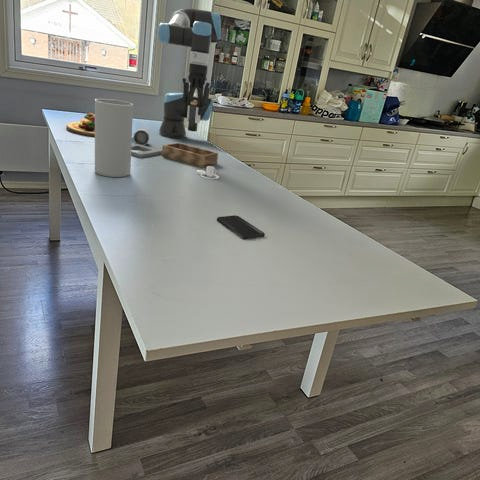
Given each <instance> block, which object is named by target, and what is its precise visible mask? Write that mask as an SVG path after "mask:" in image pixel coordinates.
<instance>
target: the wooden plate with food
mask: <svg viewBox="0 0 480 480" xmlns="http://www.w3.org/2000/svg"><path fill="white" fill-rule="evenodd" d="M66 129H67V131H70V132H71V133H73V134H77V135H82V136H87V137H92V138H93V137H94V138H95V113H93V112H89V113H87V114H85V116H84V117H82V118H81V119H80V121H74V122H73V121H72V122H69V123H67V124H66Z"/></svg>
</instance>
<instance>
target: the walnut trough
mask: <svg viewBox="0 0 480 480" xmlns="http://www.w3.org/2000/svg"><path fill="white" fill-rule="evenodd" d="M161 149H162V150H161V151H162V154H161V157H164V158H167V159H171V160H174V161H178V162H181V163H185V164H189V165H192V166H196V167H200V168H202V167H203V168H207V167H206V166H210V165H211V166H214V164H215V165H217V164H218V158H219V152H215V151H212V150H208V149H205V148H201V147H196V146H194V145H189V144H185V143H182V142H173V143H167V144H163V145H162V147H161Z"/></svg>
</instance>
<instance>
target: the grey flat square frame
mask: <svg viewBox="0 0 480 480" xmlns="http://www.w3.org/2000/svg"><path fill="white" fill-rule="evenodd" d="M138 150H139V151H138ZM140 150H141V151H140ZM159 155H162V150H161V149H158V148H153V147H150V146H146V145H144V146H143V145H140V144H136V143H132V146H131V157H132V156H133V157H135V158H139V159H142V158H143V159H144V158H148V157H154V156H159Z"/></svg>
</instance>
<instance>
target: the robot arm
mask: <svg viewBox="0 0 480 480" xmlns="http://www.w3.org/2000/svg"><path fill="white" fill-rule="evenodd" d="M221 21H222V19H221V14H219V13H218V12H214V11H211V10H202V9H197V8H193V7H192V8H191V7H190V8H189V7H187V8H182V9H178V10H176V11H174V12H173V13H172V15H171V16H170V20H169V22H168V23H167V22H166V23H165V22H160V23H159V25H158V33H157V35H158V36H157V39H158V42H160V43H162V44H166V45H167V44H169V45H176V46H183V47H186V48H190V57H189V58H190V59H189V62H190V63H189V66H188V73H189V75H188V76H187V77H186V78H185V77H183V78H182V83H183V86H182V87H183V88H182V89H183V91H182V92H168V93H166V94H165V95H164V101H163V116H162V117H163V120H162V122H161V125H160V128H159V132H158V134H159V135H160V136H163V137H167V138H173V139H174V138H175V139H184V138H186V137H187V132H186V126H185V119H186V122H189V111H190V101H193V100H197V102H198V106H197V107H196V116H195V123H198V124H200V123H201V121H202V122H203V121H204V122H205V121H206V122H207V121H209V120H210V118H211V113H212V110H213V107H214V99H212V96H211V93H210V90H211V87H212V85H213V84H212V83H213V82H211V77H212V69H213V68H212V67H213V59H214V49H215V45H216V44H218V40H221V37H222V36H221V34H222V33H221V31H222V28H221Z"/></svg>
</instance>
